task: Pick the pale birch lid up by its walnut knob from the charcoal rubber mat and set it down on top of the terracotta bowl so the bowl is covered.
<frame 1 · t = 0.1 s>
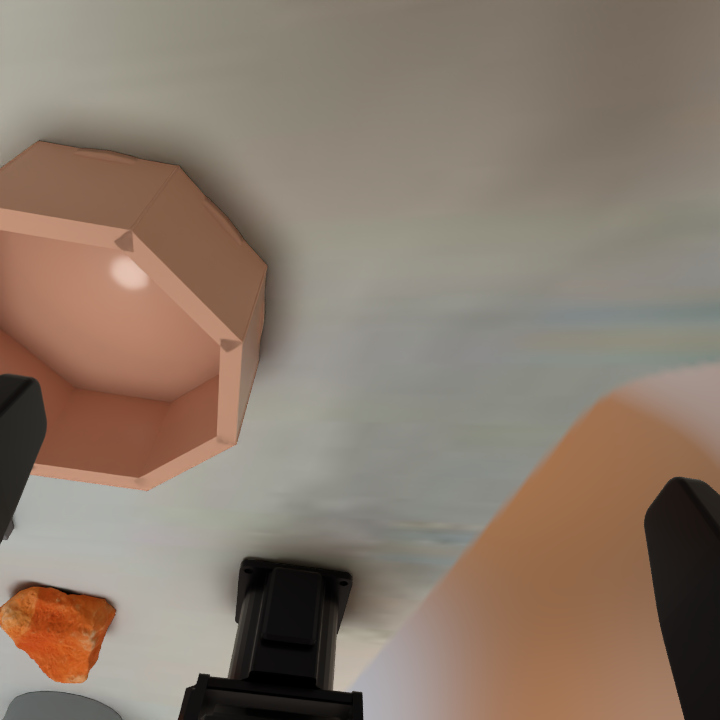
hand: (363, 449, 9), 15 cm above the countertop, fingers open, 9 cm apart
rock: (72, 595, 40), on the countertop
bowl: (120, 292, 25), on the countertop
spray bottle: (68, 714, 50), on the countertop
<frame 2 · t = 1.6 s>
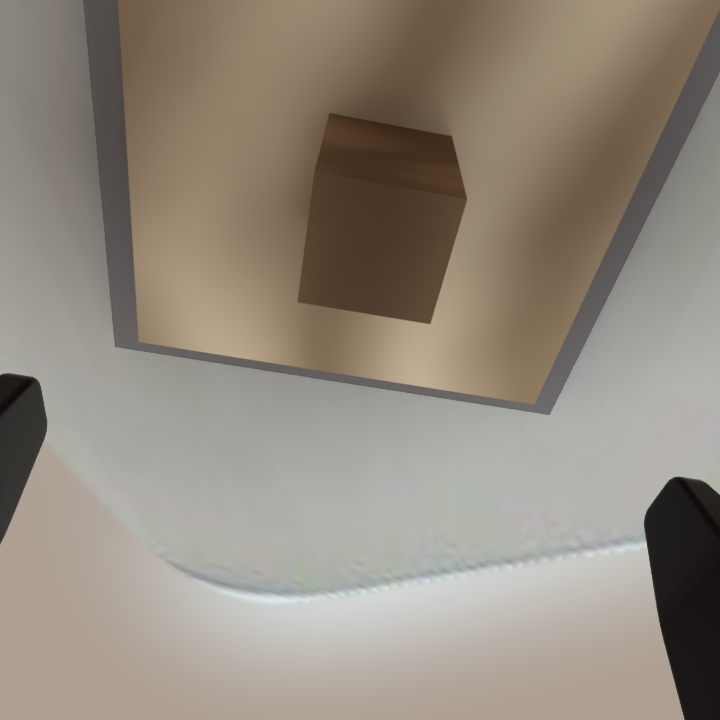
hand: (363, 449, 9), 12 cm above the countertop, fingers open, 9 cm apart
mat: (380, 160, 18), on the countertop
lid: (379, 170, 18), point 1 cm above the countertop, touching mat
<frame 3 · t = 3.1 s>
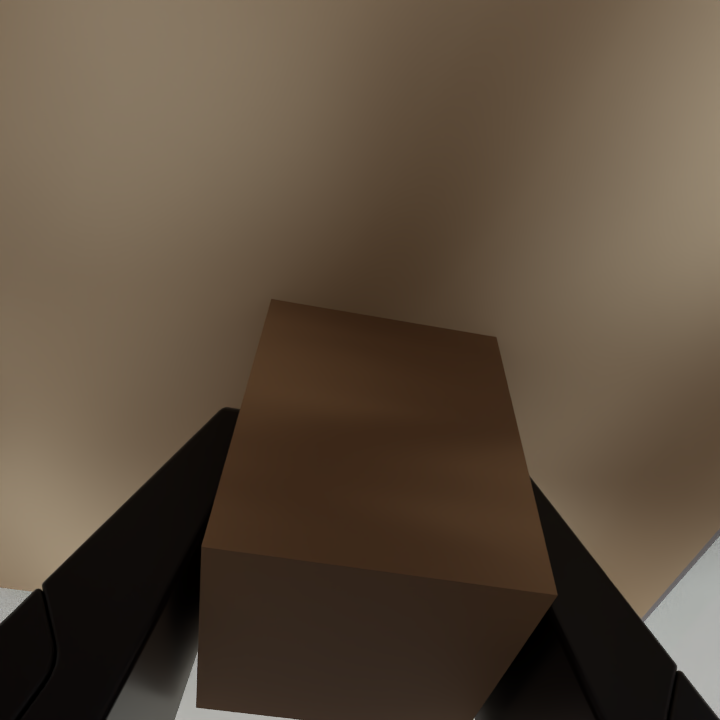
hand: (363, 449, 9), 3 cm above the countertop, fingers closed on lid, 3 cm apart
mat: (367, 335, 11), on the countertop
lid: (366, 362, 10), point 1 cm above the countertop, touching gripper, mat
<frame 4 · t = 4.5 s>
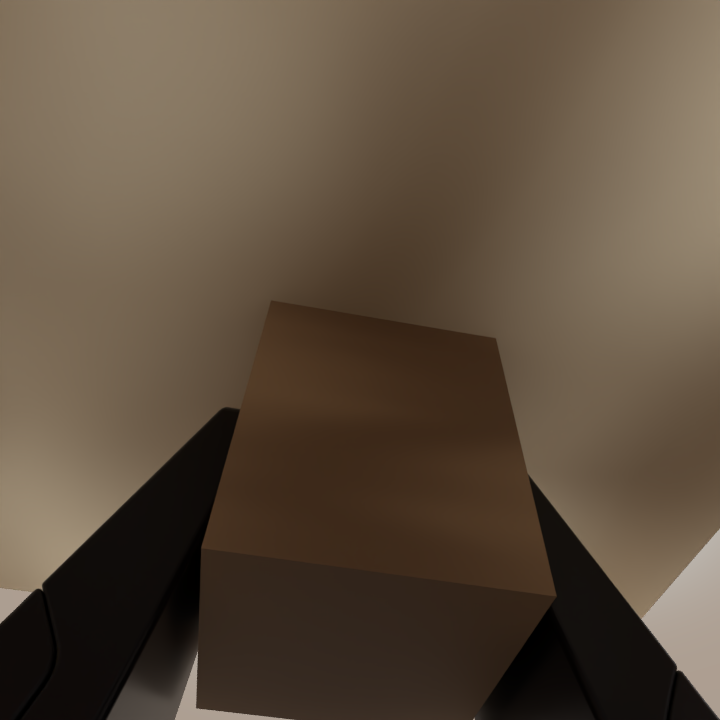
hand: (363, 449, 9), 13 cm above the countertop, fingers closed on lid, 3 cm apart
lid: (366, 363, 10), point 11 cm above the countertop, touching gripper
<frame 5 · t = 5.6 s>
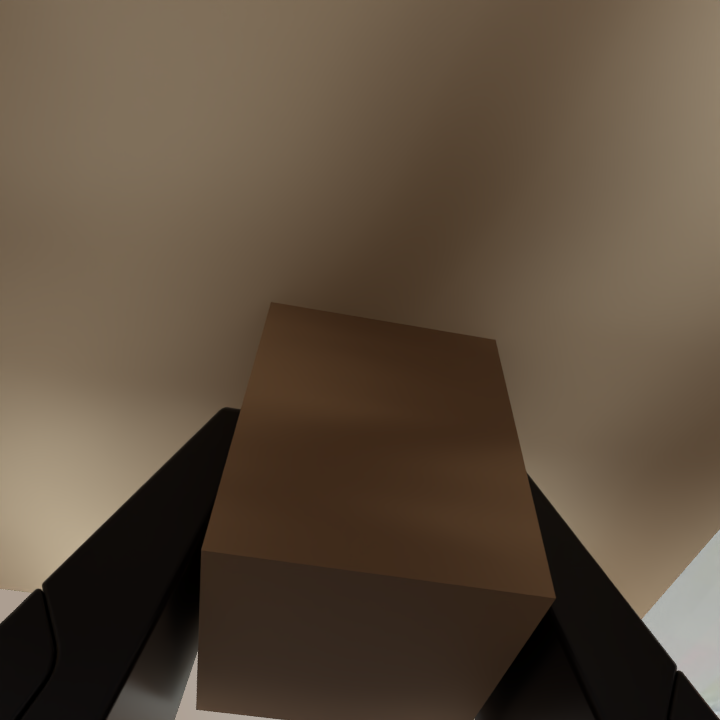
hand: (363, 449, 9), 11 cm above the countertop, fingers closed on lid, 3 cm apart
lid: (366, 365, 10), point 9 cm above the countertop, touching gripper
when the fingers open (9 cm above the countertop, at t = 6.2 s): lid drops 2 cm, resting on bowl.
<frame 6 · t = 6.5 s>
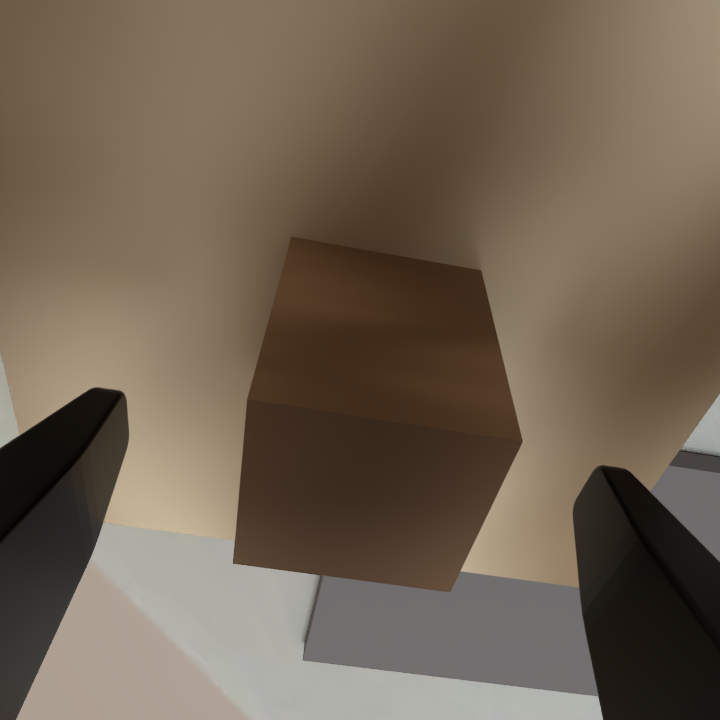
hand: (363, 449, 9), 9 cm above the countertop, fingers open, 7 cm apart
mat: (518, 572, 26), on the countertop
lid: (370, 301, 12), point 5 cm above the countertop, touching bowl
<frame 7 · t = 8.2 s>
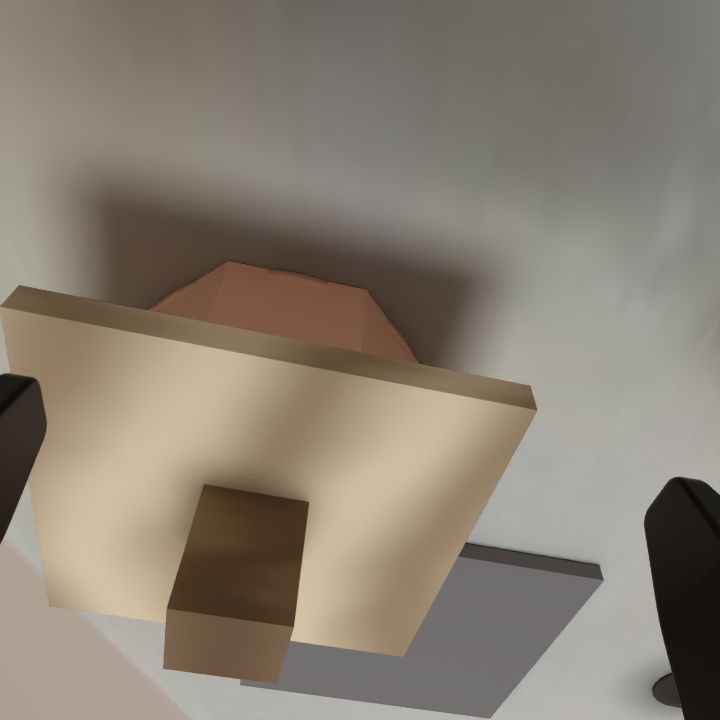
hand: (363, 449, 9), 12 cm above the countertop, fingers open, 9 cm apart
bowl: (275, 398, 24), on the countertop
sundae: (692, 682, 38), on the countertop
mat: (400, 624, 34), on the countertop
lid: (256, 500, 20), point 5 cm above the countertop, touching bowl
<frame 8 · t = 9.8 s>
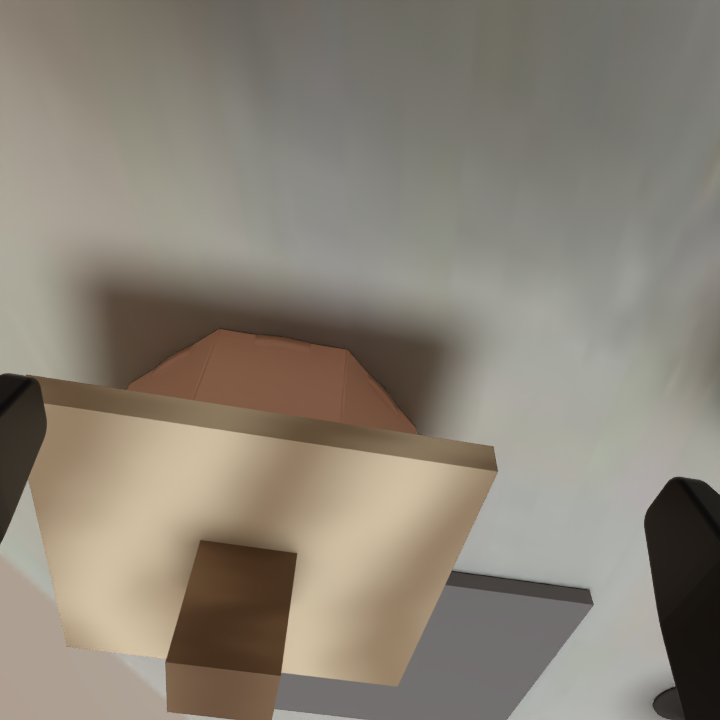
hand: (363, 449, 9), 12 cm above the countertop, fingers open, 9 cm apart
bowl: (270, 446, 26), on the countertop
sundae: (692, 697, 39), on the countertop
mat: (402, 648, 36), on the countertop
lid: (251, 549, 22), point 5 cm above the countertop, touching bowl
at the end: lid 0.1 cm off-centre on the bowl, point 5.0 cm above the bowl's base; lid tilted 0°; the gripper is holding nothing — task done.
